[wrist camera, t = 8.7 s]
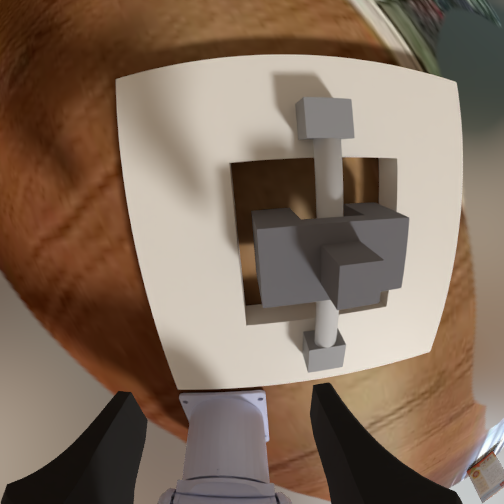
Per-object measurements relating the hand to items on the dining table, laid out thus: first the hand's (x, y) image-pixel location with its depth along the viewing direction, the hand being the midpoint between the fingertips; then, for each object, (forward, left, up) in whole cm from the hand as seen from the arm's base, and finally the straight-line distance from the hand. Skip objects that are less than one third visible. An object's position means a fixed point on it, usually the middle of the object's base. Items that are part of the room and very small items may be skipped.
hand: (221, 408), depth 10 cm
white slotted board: (+3, -6, -10) cm, 12 cm away
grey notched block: (+4, -6, -9) cm, 11 cm away
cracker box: (-100, -89, -11) cm, 134 cm away
